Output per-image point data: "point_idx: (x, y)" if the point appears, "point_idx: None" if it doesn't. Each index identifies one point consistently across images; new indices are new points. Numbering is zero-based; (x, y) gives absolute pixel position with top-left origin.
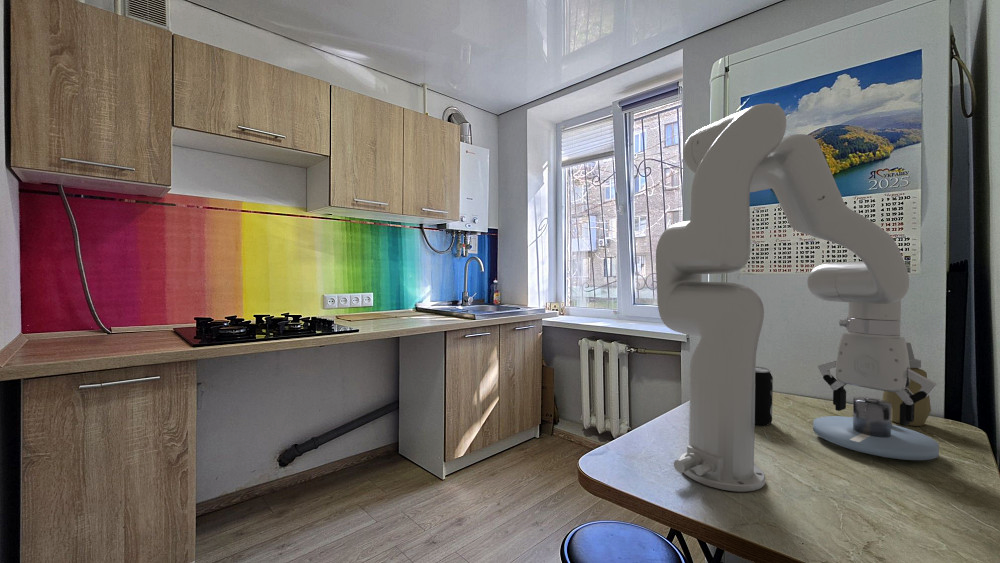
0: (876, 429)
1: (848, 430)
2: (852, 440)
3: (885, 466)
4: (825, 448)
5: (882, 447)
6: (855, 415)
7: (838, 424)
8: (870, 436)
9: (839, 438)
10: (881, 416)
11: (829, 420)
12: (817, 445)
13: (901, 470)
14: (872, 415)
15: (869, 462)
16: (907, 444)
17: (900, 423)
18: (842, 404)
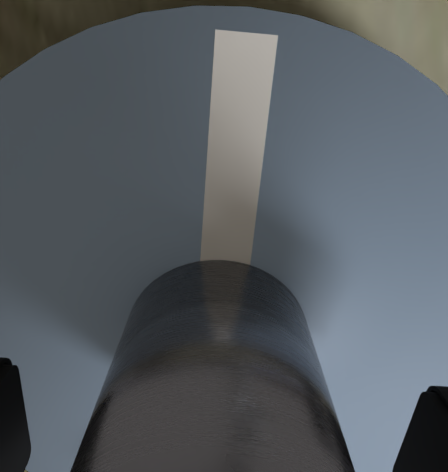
0: (168, 296)
1: (319, 261)
2: (257, 35)
3: (83, 13)
4: (388, 44)
5: (76, 48)
6: (308, 359)
7: (384, 336)
8: (197, 245)
9: (339, 28)
10: (121, 382)
11: (435, 374)
12: (433, 61)
13: (14, 22)
14: (180, 358)
15: (156, 4)
16: (21, 264)
17: (4, 365)
18: (431, 469)
